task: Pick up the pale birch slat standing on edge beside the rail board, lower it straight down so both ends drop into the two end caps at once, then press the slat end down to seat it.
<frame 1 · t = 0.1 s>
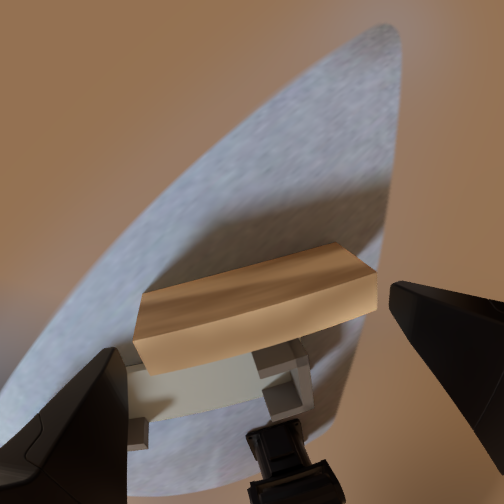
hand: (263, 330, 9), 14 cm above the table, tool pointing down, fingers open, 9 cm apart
slat rail: (192, 381, 27), on the table
slat: (244, 283, 25), on the table
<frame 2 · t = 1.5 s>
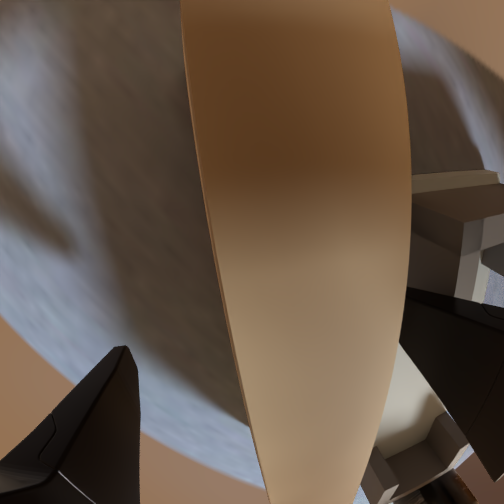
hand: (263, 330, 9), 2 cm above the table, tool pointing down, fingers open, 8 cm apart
slat rail: (419, 361, 15), on the table
supplement bottle: (412, 467, 22), on the table
slat: (260, 287, 12), on the table
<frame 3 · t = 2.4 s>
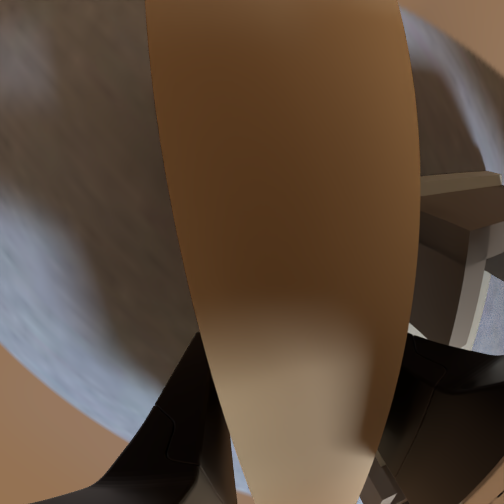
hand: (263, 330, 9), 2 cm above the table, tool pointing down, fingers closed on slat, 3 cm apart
slat rail: (417, 369, 15), on the table
slat: (250, 298, 11), on the table, touching gripper
when the fingers open (4 cm above the table, at t = 6.4 s): slat drops 2 cm, resting on slat rail.
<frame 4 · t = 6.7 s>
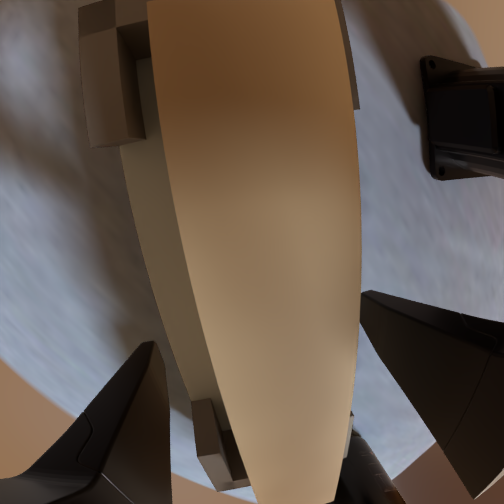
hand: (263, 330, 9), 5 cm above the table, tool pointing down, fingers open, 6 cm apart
slat rail: (237, 272, 13), on the table
supplement bottle: (326, 455, 21), on the table
slat: (241, 282, 12), point 1 cm above the table, touching slat rail
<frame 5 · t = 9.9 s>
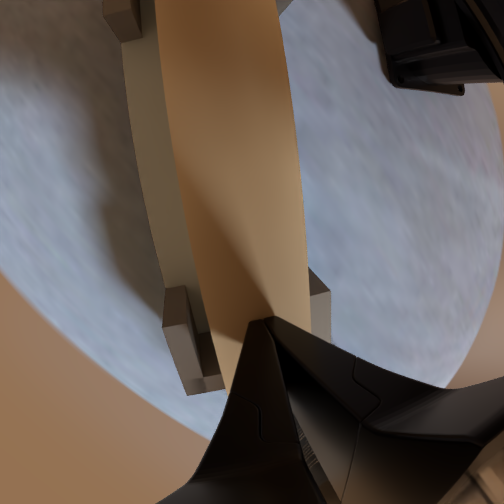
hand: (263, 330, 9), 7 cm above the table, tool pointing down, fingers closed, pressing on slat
slat rail: (213, 150, 14), on the table
supplement bottle: (315, 395, 22), on the table
slat: (215, 152, 13), point 1 cm above the table, touching gripper, slat rail
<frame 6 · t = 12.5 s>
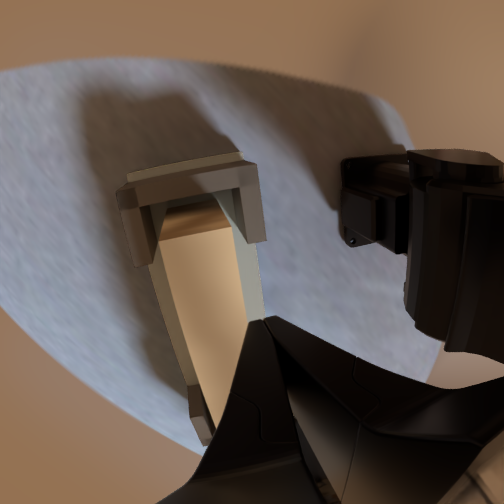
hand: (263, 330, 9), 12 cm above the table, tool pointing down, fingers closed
slat rail: (213, 309, 22), on the table
supplement bottle: (288, 433, 30), on the table
slat: (215, 316, 21), point 1 cm above the table, touching slat rail
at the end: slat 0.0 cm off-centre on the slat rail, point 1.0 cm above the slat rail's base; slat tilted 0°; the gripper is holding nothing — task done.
